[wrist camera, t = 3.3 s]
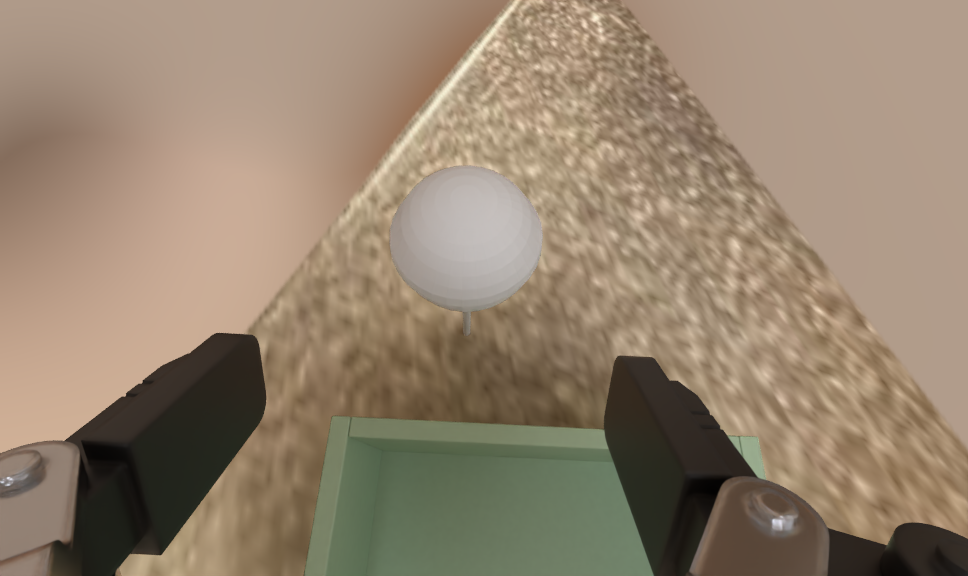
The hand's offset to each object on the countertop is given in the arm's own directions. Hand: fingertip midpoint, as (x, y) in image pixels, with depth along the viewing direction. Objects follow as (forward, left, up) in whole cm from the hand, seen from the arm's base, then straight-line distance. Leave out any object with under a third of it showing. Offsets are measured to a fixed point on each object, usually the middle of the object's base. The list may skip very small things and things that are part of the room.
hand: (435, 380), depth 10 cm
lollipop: (0, +7, -18) cm, 19 cm away
